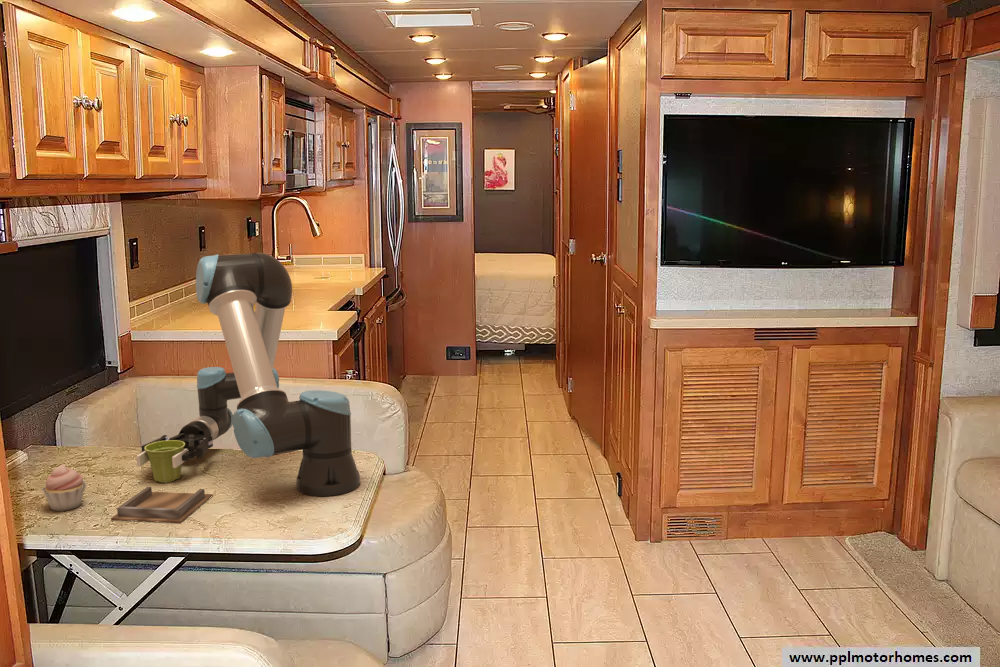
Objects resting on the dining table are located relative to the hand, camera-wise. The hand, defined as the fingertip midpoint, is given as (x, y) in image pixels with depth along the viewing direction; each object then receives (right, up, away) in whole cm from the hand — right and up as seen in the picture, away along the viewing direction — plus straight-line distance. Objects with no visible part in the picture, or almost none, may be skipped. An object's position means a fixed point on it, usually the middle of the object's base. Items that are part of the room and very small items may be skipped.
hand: (156, 461), depth 208 cm
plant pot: (+1, -5, +6) cm, 8 cm away
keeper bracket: (+7, -9, -13) cm, 17 cm away
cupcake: (-16, -9, -11) cm, 21 cm away
